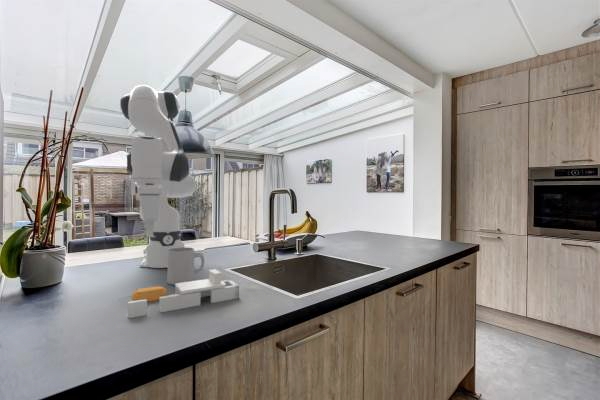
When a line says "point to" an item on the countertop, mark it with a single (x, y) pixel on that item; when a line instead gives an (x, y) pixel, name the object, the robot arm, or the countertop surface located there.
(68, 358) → the countertop surface
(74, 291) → the countertop surface
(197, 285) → the cover
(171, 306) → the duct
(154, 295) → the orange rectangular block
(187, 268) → the mug
